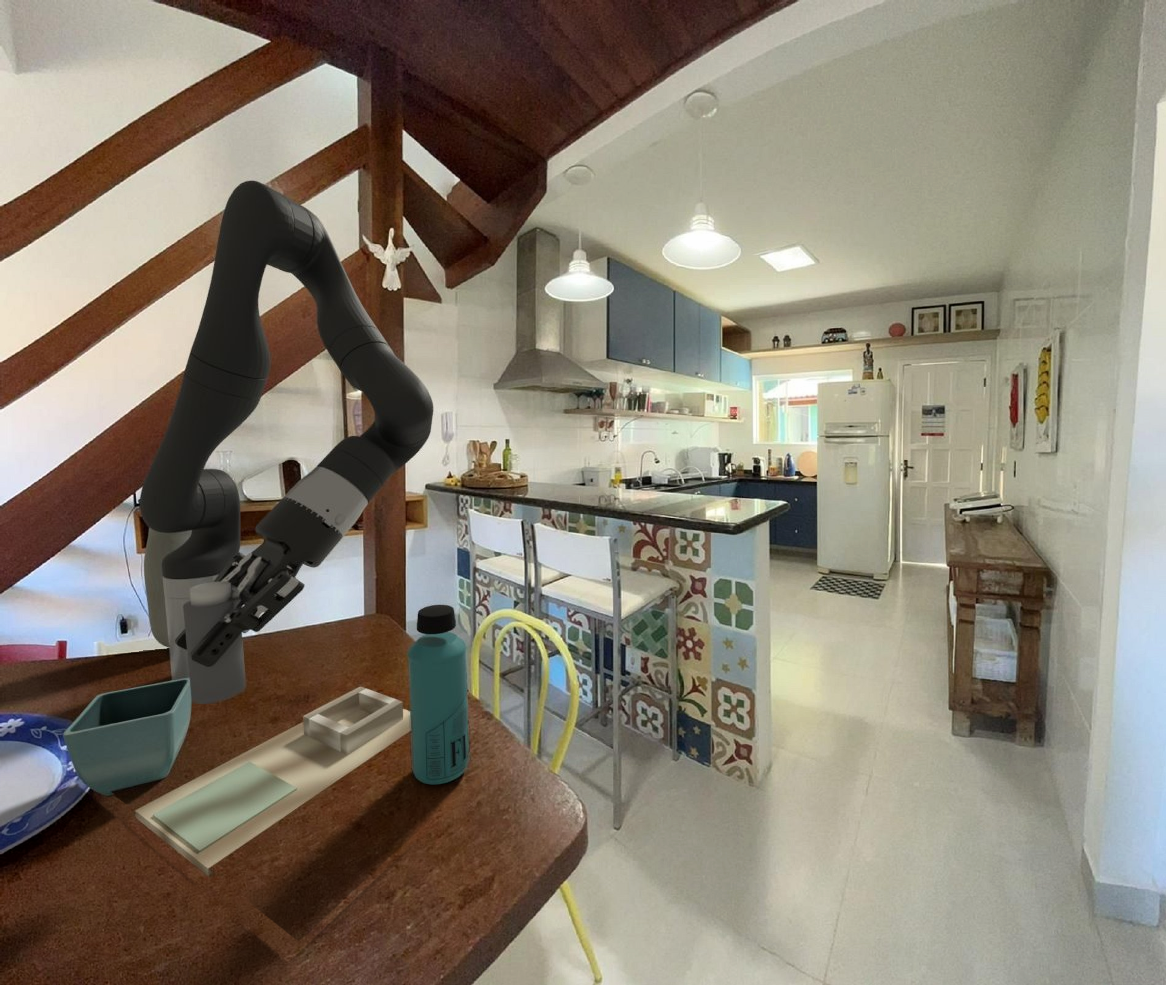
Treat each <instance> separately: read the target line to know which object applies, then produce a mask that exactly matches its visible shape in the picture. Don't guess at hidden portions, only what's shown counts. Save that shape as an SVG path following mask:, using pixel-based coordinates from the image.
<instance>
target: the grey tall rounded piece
mask: <svg viewBox="0 0 1166 985" xmlns="http://www.w3.org/2000/svg"><path fill="white" fill-rule="evenodd" d="M191 533H192V530H190V531H184V532H176V533H161V532H157V531H154V530H152V529H151V528H150V527H148V536H147V541H146V547H145V551H144V556H143V576H144V577H143V579H144V587H145V594H146V601H147V610H148V611H147V612H148V619H149V627H150V630H151V633H152V636H153V637H154V639H155V640H156V641H157V642H158V644H160V645H161V646H162V647H166V648H169V639H168V628H167V617H166V606H165V595H164V586H163V575H162V560H163V559H164V557H165V556H167V555H168V554H170V553H171V552H173V551H175V550H176V549H178V548H179V547H180V546H182V545H183V544H184V543H185V542H186V541H187V540H188V539H189V538H190V536H191Z"/></svg>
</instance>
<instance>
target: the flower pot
mask: <svg viewBox="0 0 1166 985" xmlns="http://www.w3.org/2000/svg"><path fill="white" fill-rule="evenodd" d="M191 713H192V699H191V688H190V678H184V679H179V680H173V681H172V680H169V681H163V682H158V683H153V684H147V685H142V686H137V687H131V688H127V689H126V688H125V689H120V690H115V691H108V692H104V693H100V694H97V695H96V696H95V697H94V698H93V699H92V700H91V702H89V704H88V705H87V706H86V707H85V708H84V709H83V711H82V712H81V713H80V714H79V715H78V716H77V717H76V718H75V720H73V722H72V723H71V724H70V726H69V727H66V730H64V731H63V733H62V736H63V740H64V743H65V745H66V746H65V747H66V750H67V752H68V755H69V758H70V761H71V764H72V766H73V769H74V770H75V773H76V775H77V776H78V778H79V780H81V782H82V783H84V785H85V786H87V787H88V788H89V789H91V790H92V791H94V792H96V793H98V794H100V795H102V796H106V797H109V796H113V795H115V793H113V792H115V791H118V790H123V789H127V788H130V787H134V786H140V785H142V784H145V783H146V784H147V783H151V782H155V781H158V780H162V779H164V778H166V777H168V775H169V773H170V771H171V770H172V767H173V765H174V763H175V761H176V758H177V757H178V754H179V752H180V750H181V748H182V746H183V744H184V742H185V738H186V736H187V734H188V733H187V732H188V730H189V727H190V722H191V716H192V714H191Z"/></svg>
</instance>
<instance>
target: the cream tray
mask: <svg viewBox="0 0 1166 985" xmlns="http://www.w3.org/2000/svg"><path fill="white" fill-rule="evenodd" d="M403 703H404V702H403V701H401V700H399V699H397V698H394V697H390V696H388V695H385V694H383V693H380V692H377V691H375V690H372V689H369V688H366V687H363V686H359V687H357V688H354V689H352V690H350V691H348V692H347V693H345V694H343V695H341V696H340V697H337V698H335V699H333V700H330V702H328V703H325V704H324V705H322V706H320V707H318V708H316V709H314V710H312V711H310V712H308V713H307V714H304V715H302V722H301V723H298V724H297V725H294V726H292V727H291V728H289V729H286V730H285V731H282V732H281V733H278V734H277V735H275V736H273V737H272V738H269V739H268V740H266V741H264V742H262V743H260V744H258V745H257V746H255V747H252V748H250V749H249V750H248V751H247V750H246V751H244V752H243V753H241V754H239V755H237V756H236V757H234V758H231V759H229V760H228V761H226V762H224V763H222V764H220V765H219V766H216V767H214V768H212V769H211V770H209V771H207V772H205V773H204V774H201V775H199V776H198V777H196V778H194V779H192V780H190V781H189V782H186V783H184V784H182V785H180V786H179V787H177V788H175V789H173V790H171V791H169V792H168V793H165V794H164V795H161V796H160V797H157V798H156V799H154V800H151V801H150V802H148V803H147V804H145V805H143V806H141V807H139V808H137V809H134V814H135V815H134V816H135V818H136V819H137V820H138V821H139V822H140V823H142V824H143V825H144V826H146V827H147V828H148V829H149V830H151V832H153V834H155V835H156V836H158V837H159V838H160V839H161V840H163V841H164V842H165V843H166V844H168V845H169V846H170V847H172V849H174V850H175V851H176V852H177V853H179V854H180V855H181V856H182V857H184V858H185V859H186V860H187V861H188V862H190V863H191V864H192V865H193V866H195V867H196V868H197V869H198V870H199V871H201V872H202V873H203V874H205V875H206V876H207V877H211V876H212V875H213V874H214V873H213V871H212V870H210V869H211V867H212V868H213V866H215V865H217V863H219V862H220V861H222V860H223V859H225V858H226V857H227V856H229V855H231V854H232V853H234V852H236V851H237V850H238V849H239V848H241V847H242V846H244V845H245V844H247V843H248V842H250V841H251V840H252V839H254V838H256V837H257V836H258V835H260V834H261V833H263V832H265V831H266V830H268V829H269V828H270V827H272V826H273V825H274V824H276V823H278V822H279V821H280V820H282V819H284V817H287V816H288V815H289V814H290V813H292V812H294V811H295V810H296V809H298V808H300V807H301V806H303V805H304V804H306V803H307V802H308V801H310V800H312V799H313V798H314V797H316V796H317V795H318V794H320V793H323V791H324V790H326V789H328V788H329V787H331V786H332V785H334V784H335V783H336V782H338V781H339V780H340V779H342V778H343V777H346V775H348V774H350V773H351V772H352V771H355V769H357V768H358V767H359V766H361V765H363V764H364V763H366V762H367V761H368V760H370V759H371V758H374V756H376V755H377V754H379V753H380V752H382V751H384V750H385V749H386V748H387V747H389V746H390V745H392V744H394V743H395V742H397V741H398V740H400V739H401V738H402V737H404V736H406V735H407V734H409V731H410V732H411V722H410V721H409V720H410V710H407V709H405V708H404V704H403ZM409 723H410V725H409ZM409 726H410V727H409ZM409 729H410V730H409Z"/></svg>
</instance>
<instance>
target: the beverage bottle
mask: <svg viewBox="0 0 1166 985" xmlns="http://www.w3.org/2000/svg"><path fill="white" fill-rule="evenodd" d="M455 614H456V613H455V610H454V607H453V606H451V605H448V604H433V605H432V604H431V605H428V606H424V607H422V608H420V609H419V610H418V611H417V619H416V620H417V621H416V631H417V632H418V633H420V634H423V635H421V636H420V637H418V639H416V640H415V641H414V643H413V642H412V643H413V644H411V646H410V647H409V648H408V650H407V658H408V678H409V681H408V682H409V700H410V701H409V702H410V703H409V711H410V720H409V721H410V722H411V731H409V732H408V734H410V745H409V748H410V749H409V752H410V753H409V754H410V759H411V760H410V763H411V764H410V767H411V769H412V773H413V775H414V776H415V778H416V779H417V780H418V781H419V782H421V783H423V784H425V785H426V784H427V785H441V784H446V783H449V782H452V781H454V780H456V779H457V778H459V777H460V776H462V774H464V772H466V770H467V768H468V765H469V762H470V758H471V754H470V753H471V748H470V747H471V737H470V736H471V735H470V734H471V732H469V730H471V729H470V728H471V727H470V725H469V724H470V715H469V705H468V703H469V701H468V699H469V698H468V693H469V691H470V690H469V686H468V673H469V672H468V669H467V652H466V651H467V643H466V642H465V640H463V639H462V638H461V637H460V636H458V635H457V634H456V633H454V632H452V631H453V630H454V629H455V628H456V626H457V620H456V615H455ZM409 725H410V723H409ZM409 727H410V726H409ZM409 730H410V729H409Z"/></svg>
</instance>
